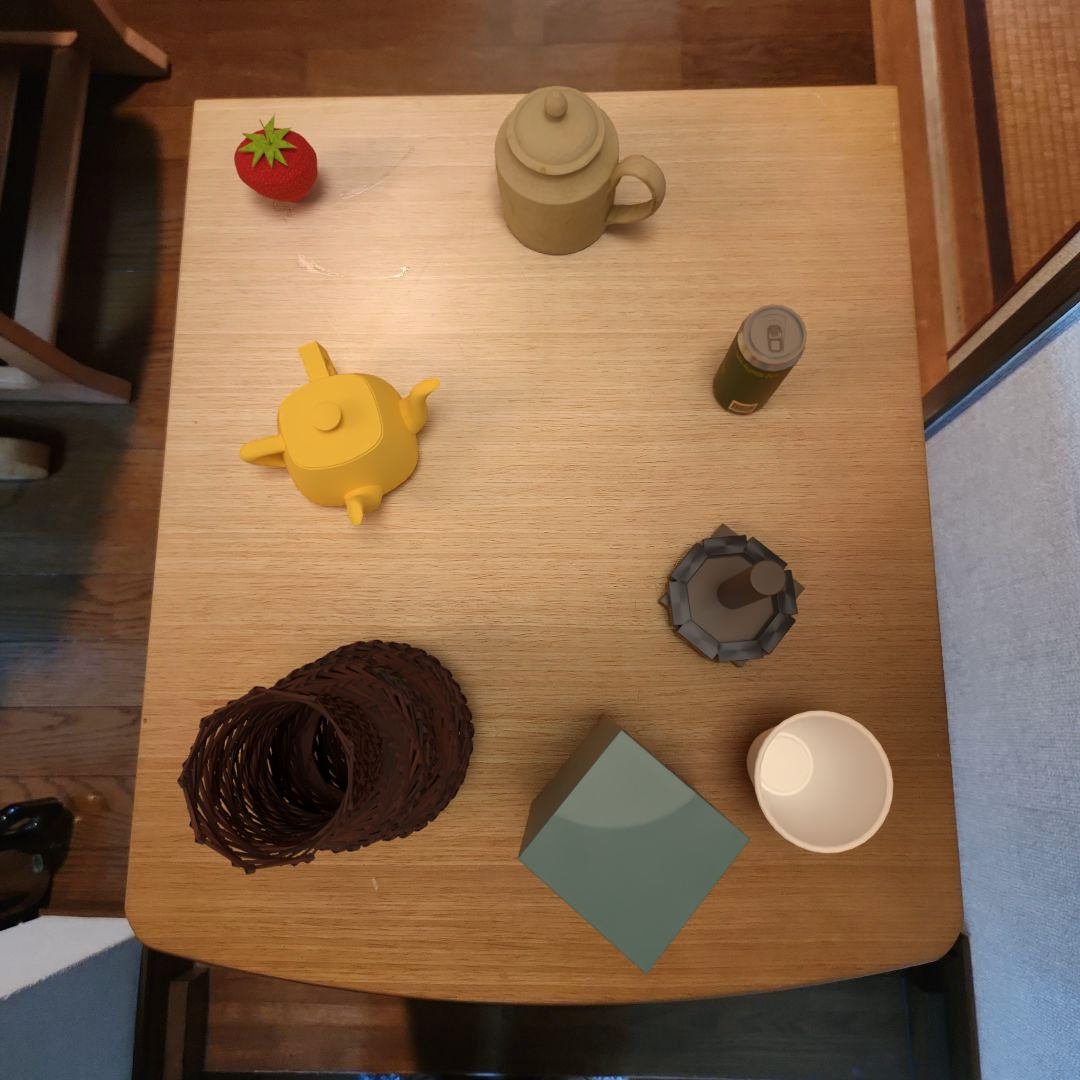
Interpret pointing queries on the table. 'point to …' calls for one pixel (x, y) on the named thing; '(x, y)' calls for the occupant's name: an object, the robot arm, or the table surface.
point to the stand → (627, 842)
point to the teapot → (344, 435)
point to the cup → (821, 781)
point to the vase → (330, 757)
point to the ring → (699, 637)
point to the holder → (734, 595)
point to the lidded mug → (566, 172)
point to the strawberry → (277, 163)
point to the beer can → (759, 358)
